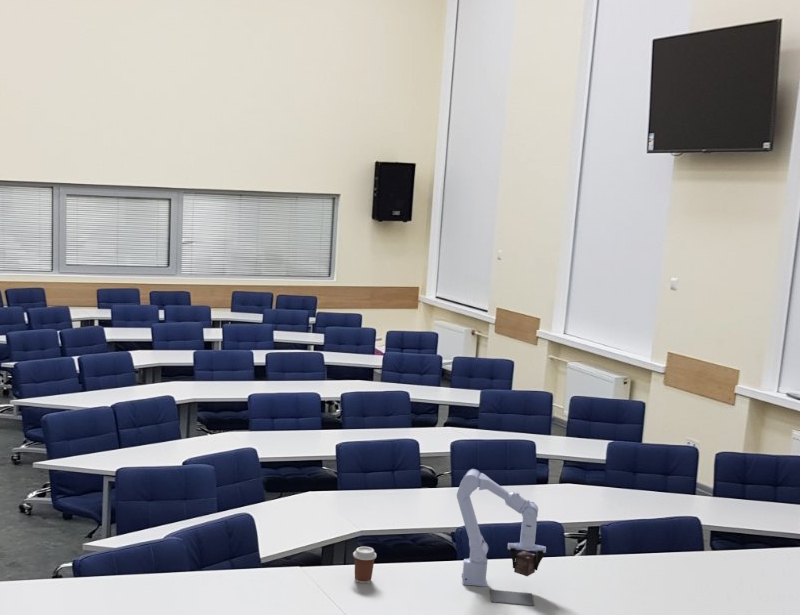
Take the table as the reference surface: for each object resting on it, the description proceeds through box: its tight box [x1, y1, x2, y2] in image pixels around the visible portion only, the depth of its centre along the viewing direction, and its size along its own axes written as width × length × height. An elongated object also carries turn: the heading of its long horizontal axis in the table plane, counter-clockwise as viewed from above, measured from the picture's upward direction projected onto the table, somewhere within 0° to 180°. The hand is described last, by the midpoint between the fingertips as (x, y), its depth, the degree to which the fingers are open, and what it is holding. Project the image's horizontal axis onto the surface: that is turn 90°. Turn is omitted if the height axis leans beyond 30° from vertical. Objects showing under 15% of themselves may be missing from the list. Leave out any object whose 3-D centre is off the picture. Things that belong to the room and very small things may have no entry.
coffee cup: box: [352, 546, 377, 584], centre depth 370 cm, size 9×9×12 cm
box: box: [513, 550, 536, 577], centre depth 373 cm, size 6×6×7 cm
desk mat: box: [489, 589, 535, 607], centre depth 364 cm, size 16×11×1 cm
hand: (524, 568), depth 373 cm, fingers closed on box, 7 cm apart
